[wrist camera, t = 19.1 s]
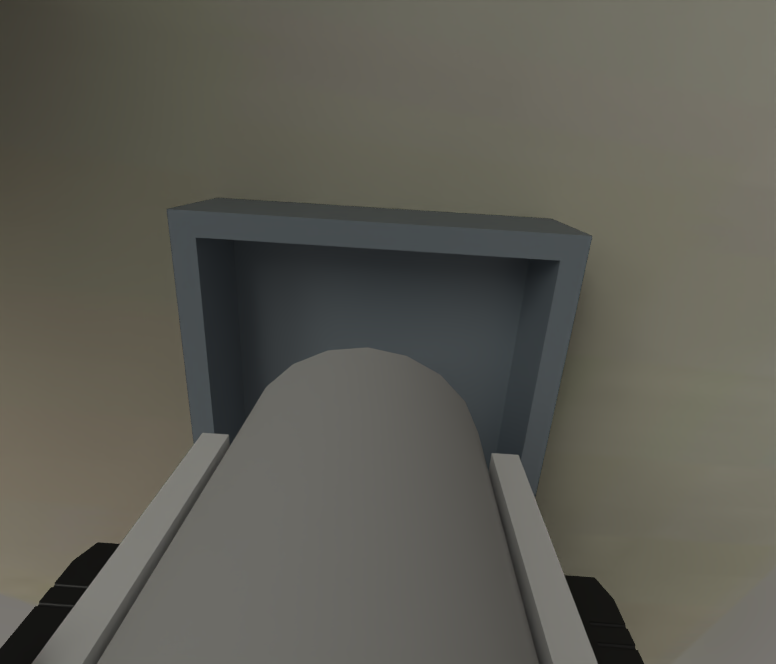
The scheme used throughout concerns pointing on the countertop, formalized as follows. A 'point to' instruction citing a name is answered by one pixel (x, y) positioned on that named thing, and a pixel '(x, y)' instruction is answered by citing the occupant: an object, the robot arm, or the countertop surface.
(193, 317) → the tote
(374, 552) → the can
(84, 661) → the robot arm
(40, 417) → the countertop surface
